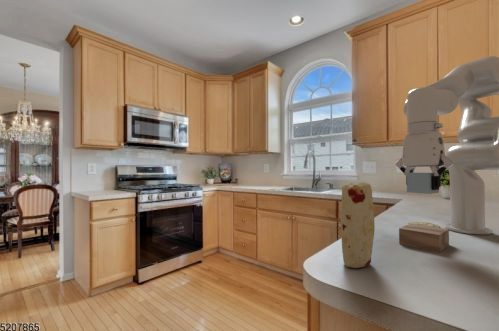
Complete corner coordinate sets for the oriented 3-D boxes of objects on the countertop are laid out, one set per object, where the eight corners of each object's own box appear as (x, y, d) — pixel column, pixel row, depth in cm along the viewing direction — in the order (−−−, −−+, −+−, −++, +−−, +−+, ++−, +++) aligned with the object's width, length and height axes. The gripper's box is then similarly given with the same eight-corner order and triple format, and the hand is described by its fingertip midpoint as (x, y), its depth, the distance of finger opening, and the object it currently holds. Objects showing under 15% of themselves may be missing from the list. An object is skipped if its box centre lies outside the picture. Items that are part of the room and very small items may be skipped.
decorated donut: (451, 237, 82) (451, 226, 82) (424, 239, 80) (423, 228, 80) (423, 229, 92) (423, 219, 92) (399, 231, 90) (398, 221, 90)
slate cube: (417, 191, 79) (416, 172, 79) (439, 192, 74) (438, 172, 74) (406, 192, 76) (406, 172, 76) (428, 193, 71) (428, 172, 71)
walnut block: (411, 238, 82) (410, 223, 82) (449, 245, 74) (448, 229, 74) (399, 244, 75) (399, 228, 75) (439, 253, 68) (439, 235, 68)
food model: (360, 275, 54) (359, 183, 54) (333, 265, 59) (332, 181, 59) (381, 264, 60) (380, 181, 60) (354, 256, 65) (353, 180, 65)
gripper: (462, 126, 69) (463, 190, 69) (399, 134, 84) (400, 186, 84) (450, 124, 66) (451, 191, 65) (386, 132, 81) (387, 187, 80)
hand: (422, 188), depth 75 cm, fingers closed on slate cube, 6 cm apart
